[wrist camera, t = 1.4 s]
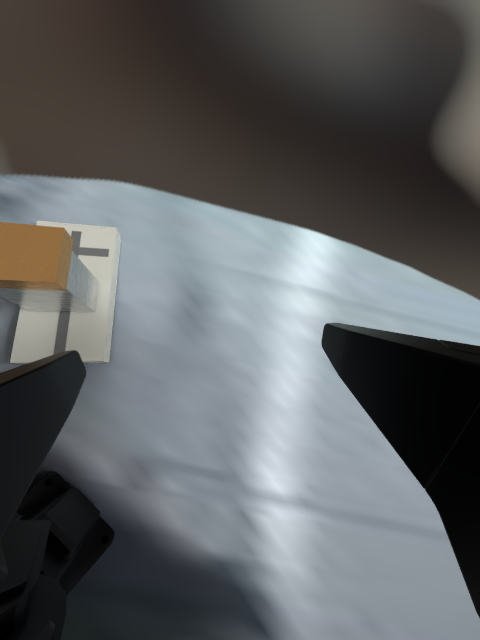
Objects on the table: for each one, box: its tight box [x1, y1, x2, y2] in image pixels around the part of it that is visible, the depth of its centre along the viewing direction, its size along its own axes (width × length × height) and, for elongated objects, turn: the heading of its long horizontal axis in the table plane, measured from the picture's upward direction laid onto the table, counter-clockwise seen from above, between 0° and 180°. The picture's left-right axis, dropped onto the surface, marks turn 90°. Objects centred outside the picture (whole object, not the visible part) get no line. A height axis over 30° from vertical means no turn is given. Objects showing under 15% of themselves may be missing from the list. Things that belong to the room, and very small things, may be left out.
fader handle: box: [0, 222, 99, 312], centre depth 16 cm, size 3×5×7 cm, turn 92°
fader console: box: [10, 221, 121, 364], centre depth 20 cm, size 12×6×2 cm, turn 3°
